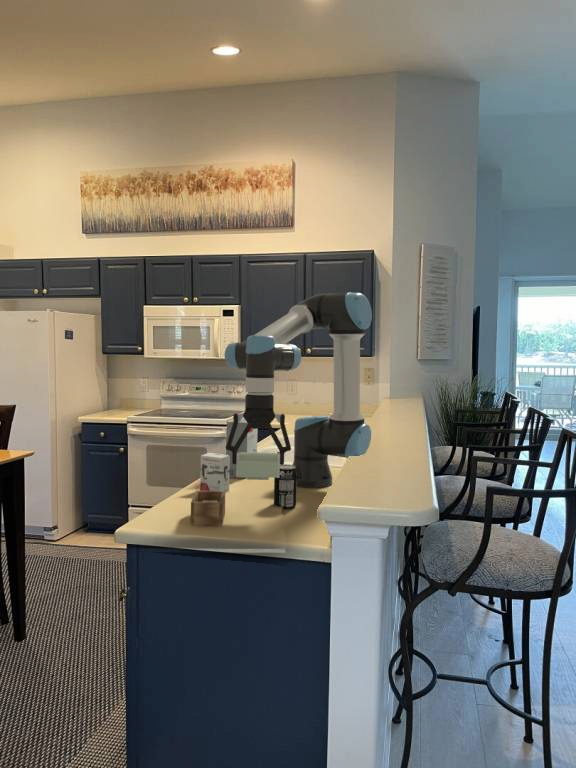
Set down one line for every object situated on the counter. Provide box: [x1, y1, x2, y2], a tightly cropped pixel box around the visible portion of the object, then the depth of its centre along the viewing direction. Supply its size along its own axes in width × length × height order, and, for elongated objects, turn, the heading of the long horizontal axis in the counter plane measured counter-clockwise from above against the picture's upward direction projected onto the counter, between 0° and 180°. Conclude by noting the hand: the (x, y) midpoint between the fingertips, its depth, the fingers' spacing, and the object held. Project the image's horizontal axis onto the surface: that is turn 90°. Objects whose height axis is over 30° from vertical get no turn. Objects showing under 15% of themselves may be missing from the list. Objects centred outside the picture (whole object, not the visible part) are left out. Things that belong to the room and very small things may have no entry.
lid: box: [238, 452, 278, 481], centre depth 167 cm, size 10×14×5 cm
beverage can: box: [273, 464, 298, 510], centre depth 183 cm, size 7×7×12 cm
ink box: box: [199, 452, 230, 493], centre depth 201 cm, size 9×5×12 cm, turn 62°
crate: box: [190, 490, 226, 528], centre depth 166 cm, size 8×13×7 cm, turn 3°
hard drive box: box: [226, 417, 259, 479], centre depth 228 cm, size 16×8×20 cm, turn 168°
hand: (257, 476), depth 167 cm, fingers closed on lid, 10 cm apart
